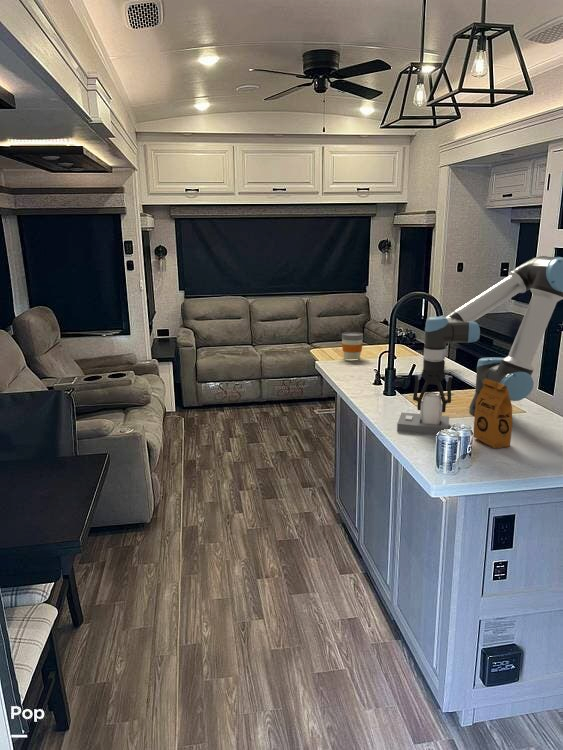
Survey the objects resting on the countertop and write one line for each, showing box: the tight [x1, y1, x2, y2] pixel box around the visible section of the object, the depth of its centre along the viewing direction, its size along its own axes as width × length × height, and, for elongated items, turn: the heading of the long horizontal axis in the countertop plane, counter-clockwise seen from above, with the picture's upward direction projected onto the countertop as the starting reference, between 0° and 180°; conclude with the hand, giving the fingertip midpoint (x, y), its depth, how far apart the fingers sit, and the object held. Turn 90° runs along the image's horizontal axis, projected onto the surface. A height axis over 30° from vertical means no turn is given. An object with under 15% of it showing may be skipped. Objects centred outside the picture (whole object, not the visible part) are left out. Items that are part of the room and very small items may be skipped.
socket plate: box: [396, 412, 450, 436], centre depth 210 cm, size 18×14×4 cm
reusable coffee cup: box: [341, 331, 364, 360], centre depth 324 cm, size 13×13×15 cm
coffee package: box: [472, 378, 513, 449], centre depth 192 cm, size 10×12×22 cm
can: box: [422, 391, 442, 425], centre depth 208 cm, size 6×6×12 cm
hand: (430, 419), depth 209 cm, fingers closed on can, 6 cm apart
